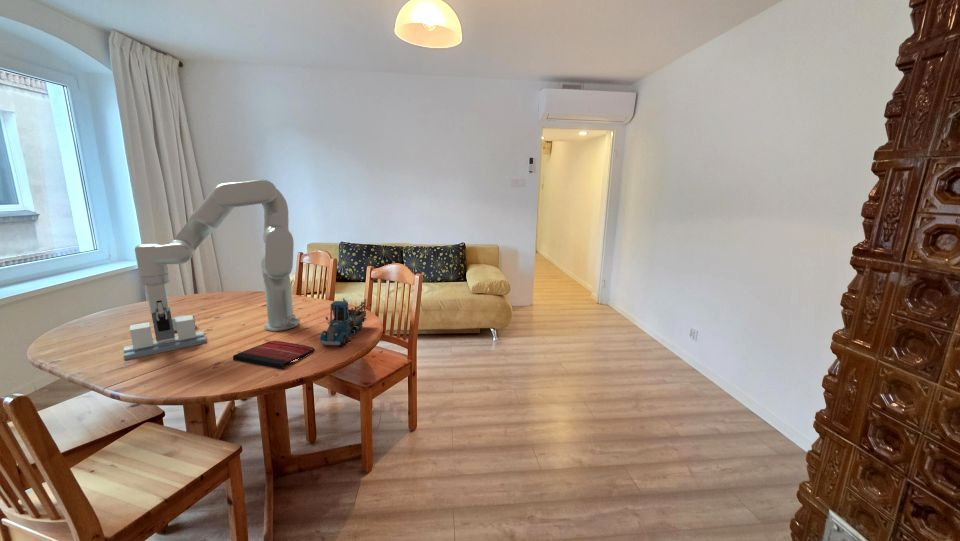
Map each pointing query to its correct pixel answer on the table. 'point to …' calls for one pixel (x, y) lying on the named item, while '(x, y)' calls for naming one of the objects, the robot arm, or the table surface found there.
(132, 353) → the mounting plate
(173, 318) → the power supply
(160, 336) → the block
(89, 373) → the table surface
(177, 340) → the din rail
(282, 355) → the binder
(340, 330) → the toy truck
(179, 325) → the mounted modules
